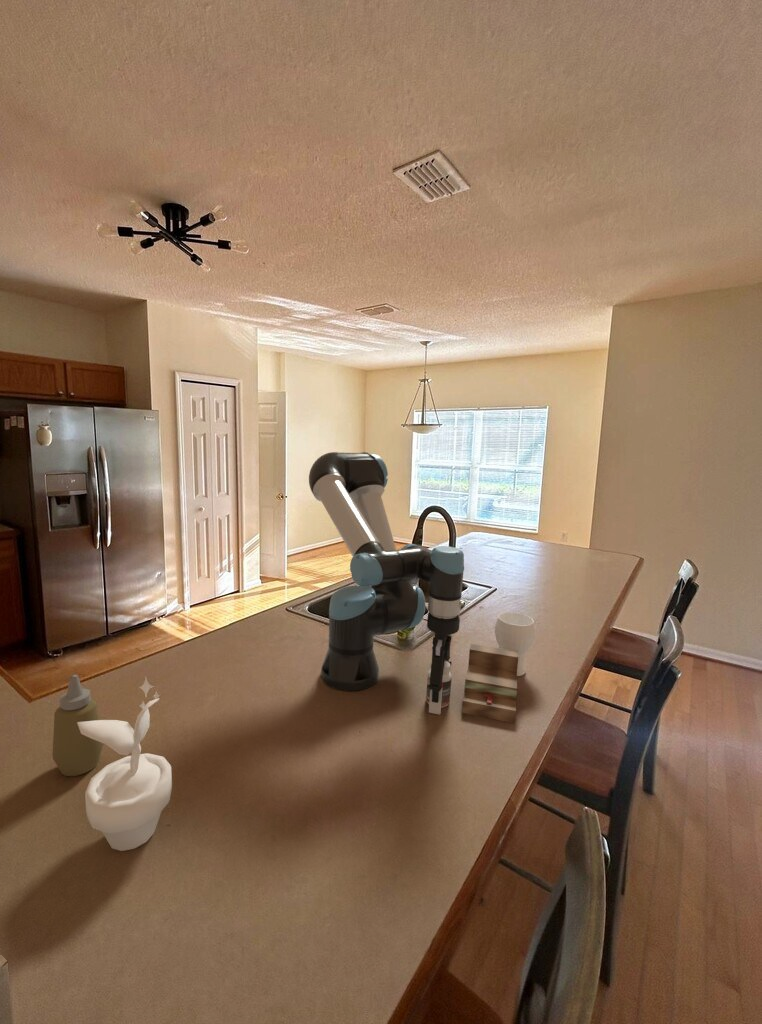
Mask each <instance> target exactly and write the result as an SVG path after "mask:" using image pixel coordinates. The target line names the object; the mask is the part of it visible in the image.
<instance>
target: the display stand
mask: <svg viewBox="0 0 762 1024" xmlns="http://www.w3.org/2000/svg"><path fill="white" fill-rule="evenodd" d="M469 647H470V648H469V656H468V665H467V669H466V675H465V680H464V691H463V697H462V701H461V703H462V704H461V713H463V714H467V715H472V716H477V717H482V718H487V719H492V720H498V721H503V722H509V723H512V724H516V715H517V714H516V713H517V696H518V695H517V694H518V676H517V667H518V651H513V650H507V649H501V648H499V647H495V646H493V647H492V646H486V645H481V644H475V643H470V646H469Z"/></svg>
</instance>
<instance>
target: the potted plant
mask: <svg viewBox="0 0 762 1024" xmlns="http://www.w3.org/2000/svg"><path fill="white" fill-rule="evenodd" d="M148 681H149V680H148V679H147V676H145V680H144V681H143V684H142V685H140V686H139V687H137V689H141V690H142V692H143V693H144V696H145V698H147V696H148V693H149V691H150V690H151V689H152V688H154V687H156V686H155V685H151V684H150V683H149V682H148ZM160 696H161V694H159V693H158V692H157V690H156V691H155V693H154V694H153V695H152V696H151V697H152V698H154V699H153V700H149V701H148V702H147V703H146V704H145V702H144V701H141V704H140V705H139V707H140V708H141V710H140V712H139V713H138V714H137V717H136V721H135V723H134V728H133V727H132V726H131V724H130V723H129V722H128V721H124V720H118V719H100V720H94V721H84V722H77V724H78V727H79V729H80V732H81V734H83V735H85V736H87V737H89V738H91V739H94V740H96V741H99V742H101V743H104V745H106V746H108V747H109V748H111V750H113V751H114V752H116V753H117V754H119V755H121V756H122V755H123V756H124V757H122V758H120V759H118V760H115V761H112V762H111V763H109V764H107V765H105V766H104V767H103V768H102V769H100V770H99V771H98V772H97V773H95V775H93V776H92V777H91V778H90V780H89V783H88V785H87V787H86V789H85V792H84V796H85V797H84V798H85V809H86V810H85V811H86V812H85V813H86V818H87V820H88V822H89V824H90V826H91V827H92V829H93V830H97V831H100V832H101V833H102V834H103V836H104V837H105V839H106V841H107V842H108V844H109V846H110V848H111V849H113V850H117V851H120V852H124V851H129V850H134V849H136V848H138V847H140V846H142V845H143V844H145V843H147V842H148V841H149V840H150V838H151V837H152V836H153V835H154V834H155V831H156V829H157V826H158V823H159V821H160V817H161V814H162V811H163V810H164V809H165V807H166V806H167V805H169V803H170V801H171V795H172V789H173V780H172V779H173V778H172V776H173V775H172V765H171V764H170V763H169V761H168V760H167V759H166V758H165V756H162V755H158V754H152V753H148V752H146V753H141V752H142V746H141V742H142V741H143V740H144V738H145V737H146V734H147V733H148V730H149V728H150V721H151V717H150V716H151V714H150V711H149V710H150V709H149V708H150V707H152V706H153V705H154V704H156V703H157V702H158V701H159V700H160V698H159V697H160ZM130 754H131V755H130Z"/></svg>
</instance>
